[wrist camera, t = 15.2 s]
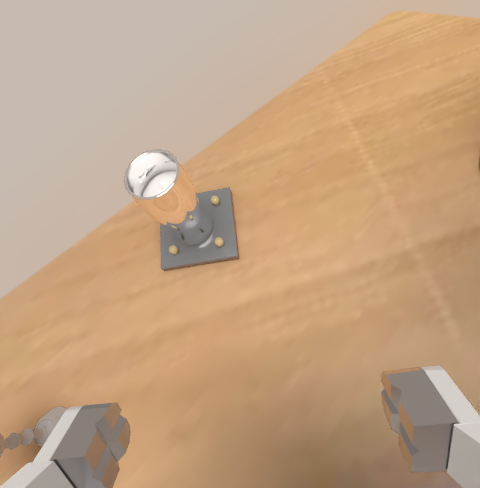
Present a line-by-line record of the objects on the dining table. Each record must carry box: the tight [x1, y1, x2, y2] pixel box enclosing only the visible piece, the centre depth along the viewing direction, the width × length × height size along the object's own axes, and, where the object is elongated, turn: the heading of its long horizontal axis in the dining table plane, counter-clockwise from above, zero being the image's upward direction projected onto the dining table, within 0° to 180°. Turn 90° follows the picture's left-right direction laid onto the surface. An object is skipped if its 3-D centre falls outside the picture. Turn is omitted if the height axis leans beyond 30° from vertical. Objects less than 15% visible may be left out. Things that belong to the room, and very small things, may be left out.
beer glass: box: [124, 149, 212, 245], centre depth 39 cm, size 7×7×15 cm
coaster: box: [160, 188, 239, 271], centre depth 46 cm, size 12×12×2 cm
